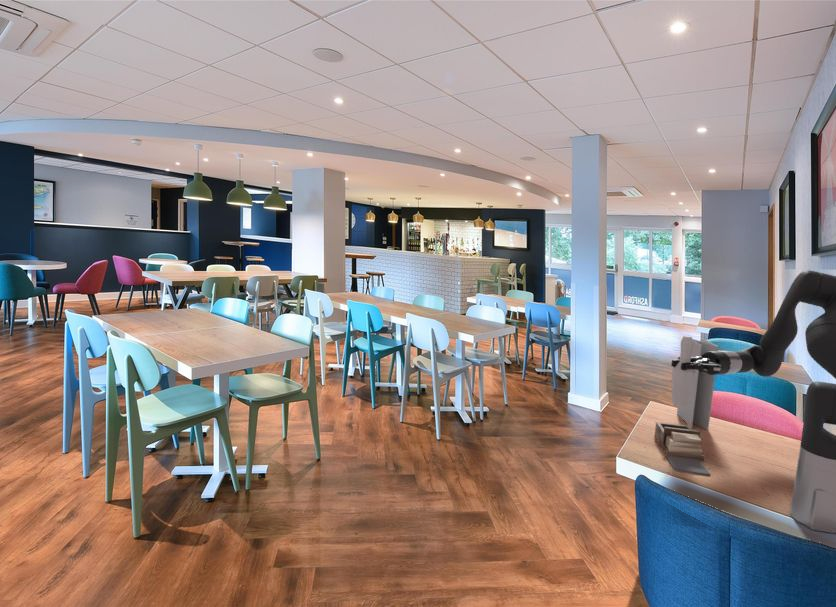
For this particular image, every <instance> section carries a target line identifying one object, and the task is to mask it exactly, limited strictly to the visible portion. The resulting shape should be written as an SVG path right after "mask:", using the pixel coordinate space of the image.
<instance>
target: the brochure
mask: <svg viewBox="0 0 836 607" xmlns="http://www.w3.org/2000/svg"><path fill="white" fill-rule="evenodd" d="M692 339H693V348H692V353H691V357H696V356H702V355H703V354H704V353H706V352H709V351H719V349H720V348H719V345H717V344H715V343H712V342H710V341H709V340H706V339H705V338H702V337H701V338H700V340H697V339H694V338H692ZM715 379H716V375H709V374H707V373H705V372H699V371H696V376H695V385H694V388H693V392H692V396H691V400H690V404H689V406H688V407H681V406H677V407H676V408H677V409H676V415H678V417H679V418H681V420H682V421H683V420H684V421H685V422H686V423H687V424H686V423H685V424H686V426H688V425H689V426H690V427H691V428H692V429H693V424H695V423H696V424H695V425H697V426H699V427H701V428H703V429H705V430H707V431H709V428H710V421H711V420H710V419H711V412H712V404H713V396H714V395H713V394H714V387H715ZM684 421H683V422H684ZM693 422H694V423H693Z"/></svg>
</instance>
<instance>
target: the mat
mask: <svg viewBox="0 0 836 607" xmlns="http://www.w3.org/2000/svg"><path fill="white" fill-rule="evenodd" d="M665 458H666V459H667V461H668V463H669V464H670V466H671V468H673V470H674V472H681V473H688V474H696V475H700V476H701V475H702V476H710V477H711V473H710V472H709V470H708V469H707V468H706V467H705V465H704V463H702V461H700V460H699V459H692V458H684V457H677V456H669V455H666V454H665Z"/></svg>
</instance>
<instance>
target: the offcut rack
mask: <svg viewBox="0 0 836 607" xmlns="http://www.w3.org/2000/svg"><path fill="white" fill-rule="evenodd" d="M654 429H655V430H654V438H655V439H656V441H657V443H658V444H659V446H660V447H661V449H662V450H663V452H664V453H665V456H666V455H669V456H677V457H684V458H692V459H699V460H700V461H701V462H704V461H705V458H706V457H705V455H704V454H703V449H702V448H701V444H702V439H701V431H700V430H695V429H693V427H692V428H691V427H690V426H688V425H687V424H686V425H685V424H684V425H683V424H677V423H676V424H675V423H668V422H660V421H656V422H655V428H654Z"/></svg>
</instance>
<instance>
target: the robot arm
mask: <svg viewBox="0 0 836 607" xmlns="http://www.w3.org/2000/svg"><path fill="white" fill-rule="evenodd" d="M800 302H801V303H803V304H807V305H811V306H816V307H820V308H822V309H823V311H824V312H823V313H822V314H820V316H818V317H816V318H815V319H813V320H812V321H811V322H810V323H809V324H808V325H807V327H806V328H805V332H804V333H805V335H804V336H805V342H806V343H805V344H806V350H807V352H808V353H807V354H808V355H809V356H810V357H811V358H812V359H813V361H814V362H816V363H817V365H819V366H820V367H821V368H822V369H823V370H825V371H826V372H827V373H828V374H829V375H830V376H832V377H833V378H834V379H835V380H836V275H834V274H833V275H832V274H828V273H824V272H821V271H820V272H819V271H815V270H809V269H807V270H802V271H801V272H799V273H798V275H797V276H796V277H795V278H794V280H793V281H792V283H791V285H790V287H789V289H788V291H787V293H786V294H785V297H784V298H783V301H782V303H781V305H780V307H779V309H778V311H777V314H776V315H775V318H774V319H773V321H772V323H771V324H770V326H769V327H768V329H767V330H765V333H763V335H762V336H761V337H760V339H759V345H757V344H753V345H750V346H749V347H746V348H743V349H741V350H731V351H730V350H718V351H709V352H706V353H704V354H703V355H702V356H696V357H691V361H690V362H687V363H681V370H687V369H693V370H694V371H699V372H705V373H707V374H709V375H715V376H717V375H718V376H719V375H721V376H722V375H731V374H737V373H738V374H740V373H748V372H750V371H752V370H753V371H754V372H755V373H756V374H757V375H758V376H761V377H770V376H773V375H775V374H776V373H777V372H779V370H780V367H781V366H782V363H783V359H784V357H785V353H786V350H787V349H788V348H789V347H790V345H791V344H792V343H793V342H794V340H795V339H796V337H797V335H798V322H797V317H796V309H797V306H798V305H799V304H800ZM679 362H680V356H678V357H677V359H672V360H671V367H672V368H673V367H675V366H676V365H677V364H678V363H679ZM802 424H803V425H802V430H801V440H800V446H799V452H798V460H797V464H796V472H795V475H794V476H795V477H794V483H793V490H792V498H791V503H790V509H789V510H790V512H789V513H790V514H789V515H791V517H792V518H793V519H794V520H796V521H797V522H799V523H800V524H802V525H804V526H806V527H808V528H809V529H810V530H813V531H818V532H825V533H831V534H836V435H835V434H834V433H832V432H830V431H828V430H827V429H826V428H825V427H824V424H826V425H827V424H828V425H832V426H833V425H834V426H836V383H832V382H825V381H812V382H811V383H810V384H809V386H808V387H807V389H806V393H805V401H804V415H803V423H802Z"/></svg>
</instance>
